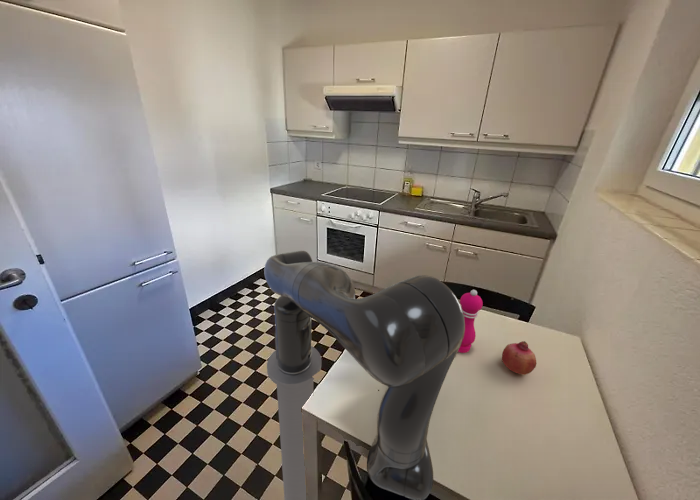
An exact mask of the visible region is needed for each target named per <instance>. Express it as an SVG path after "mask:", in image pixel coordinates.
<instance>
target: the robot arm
mask: <svg viewBox="0 0 700 500" xmlns="http://www.w3.org/2000/svg"><path fill="white" fill-rule="evenodd" d="M263 271H264V273H263V274H264V278H265V281H266V284H267V286H268V287H269V289H270V290H271V291H272V292H273V293H274V294H276V295H278V296H279V297H278V298H277V299H276V300H275V301H274V305H273V306H274V307H273V309H274V324H275V331H274V343H275V350H276V359H277V365H278V368H279V370H280V371H281V372H283V373H284V374H287V375H298V374H301V373H303V372H305V371H306V370H307V369H308V368H309V367H310V365H311V362H312V357H311V354H312V351H311V346H312V319H313V320H314V321H316V322H317V323H318V324H319V325H320V326H322V327H323V328H324V329H325V330H327V332H329V334H331V335H332V336H333V337H334V338H335V339H336V340H337V342H338V343H339V344H340V345H341V346H342V347H343V348H344V349H345V350H346V352H347V353H348V354H349V355H350V356H351V357H352V358H353V360H355V362H357V363H358V365H359V366H361V368H362V369H363V370H364V371H365V372H366V373H367V374H368V375H369V376H370V377H372V378H373V379H374V380H376V381H377V382H378V383H380V384H382V385H383V386H385V387H387V388H386V390H385V392H384V394H383V395H382V398H381V401H380V404H379V407H378V411H377V416H376V417H377V419H376V425H377V426H376V430H377V431H376V432H377V434H376V436H375V437H374V439H373V441H372V443H371V445H370V447H369V450H368V453H367V457H366V472H367V476H368V477H369V479H370V481H371V482H372V483H373V484H374V485H375V486H376V487H379V488H380V489H383V490H386V491H387V492H391V493H394V494H396V495H399V496H402V497H405V498H407V499H409V500H426V499H427V498H428V496H429V495H430V493H431V491H432V489H433V485H434V468H433V460H432V456H431V452H430V447H429V443H428V432H429V428H430V427H429V426H430V422H431V418H432V414H433V411H434V408H435V406H436V403H437V399H438V397H439V395H440V391H441V389H442V388H443V384H444V382H445V380H446V377H447V374H448V372H449V370H450V368H451V366H452V364H453V362H454V360H455V358H456V356H457V354H458V353H459V352H458V350H459V348H460V346H461V343H462V341H463V337H464V333H465V319H464V314H463V311H462V307H461V305H460V300H459V299H458V298H457V296H456V295H455V293H454V291H452V289H451V288H450V287H449V286H448V285H447V284H445V283H444V282H443V281H441V280H440V279H438V278H436V277H434V276H431V275H427V274H419V275H415V276H411V277H408V278H405V279H403V280H400V281H398V282H396V283H394V284H392V285H390V286H387V287H385V288H383V289H381V290H379V291H378V292H374V293H373V294H371V295H370V294H369V295H368V296H365V297H361V298H356V289H355V285H354V283H353V282H354V281H353V279H352V278H351V276H350V275H349V273H347V272H346V271H344V270H343V269H342V268H340V267H338V266H335V265H333V264H330V263H329V264H328V263H325V262H322V261H321V262H320V261H313V259H312V256H311V255H310V253H309V252H308V251H305V250H297V251H290V252H284V253H277V254H273V255H271V256H269V257H268V258H267V259H266V261H265V265H264V269H263Z"/></svg>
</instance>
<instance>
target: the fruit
mask: <svg viewBox="0 0 700 500" xmlns="http://www.w3.org/2000/svg"><path fill="white" fill-rule="evenodd" d="M501 361H502V363H503V365H504V366H505V367H506V368H507V369H508V370H509V371H511V372H513V373H516V374H519V375H524V376H525V375H528V374H530V373H532V372H533V371H534V370H535V369H536V367H537V358H536V354H535V352H533V350H532V349H531V348H530V347H529V344H528V342H527V341H526V340H523V341H520V342H514V343H509V344H507V345H505V347H504V348H503V350H502V353H501Z"/></svg>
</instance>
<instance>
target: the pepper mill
mask: <svg viewBox="0 0 700 500" xmlns="http://www.w3.org/2000/svg"><path fill="white" fill-rule="evenodd" d="M459 303H460V305H461V307H462V311H463V314H464V319H465V333H464V337H463V341H462V343H461V346H460V348H459V350H458V352H457V353H461V354H462V353H463V354H464V353H465V354H467V353H468V352H470V351H471V347H472V344H473V343H474V342H475V341H476V335H477V334H476V330H475V319H476V318H477V317H478V315H479V311H481V310H482V308H483V305H484V304H483V303H484V302H483V299H482V298H481V296H480V295H478V291H477V290H476V289H472V290H470V292H466V293H463V294H462V295H461V297H460V299H459Z"/></svg>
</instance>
